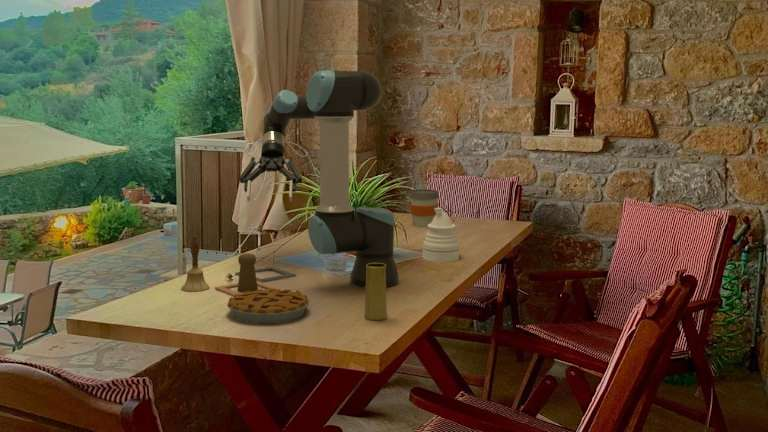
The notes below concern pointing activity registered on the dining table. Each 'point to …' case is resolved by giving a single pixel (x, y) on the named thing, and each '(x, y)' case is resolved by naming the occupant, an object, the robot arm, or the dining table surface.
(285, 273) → the frame
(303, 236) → the dining table surface
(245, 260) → the cork
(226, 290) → the frame
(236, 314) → the pie
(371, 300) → the vase
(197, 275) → the hand bell
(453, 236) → the honey pot
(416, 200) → the reusable coffee cup
